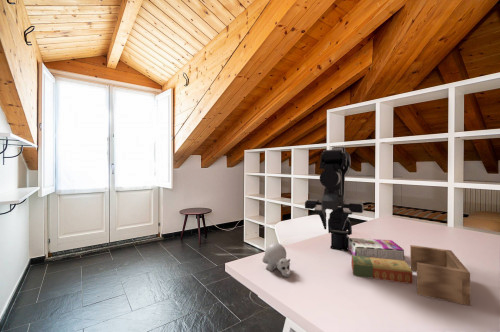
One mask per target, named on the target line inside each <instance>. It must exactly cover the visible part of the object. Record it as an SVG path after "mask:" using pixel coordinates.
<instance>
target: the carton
mask: <svg viewBox="0 0 500 332" xmlns="http://www.w3.org/2000/svg"><path fill="white" fill-rule="evenodd" d="M351 269H352V274H353V275H352V276H356V277H362V278H369V279H376V280H382V281H383V280H384V281H391V282H396V283H404V284H409V285H410V284H411V285H413V283H414V279H413V278H414V277H413V275H414V274H413V271H412V270H411V266H409V264H408V263H407V262H406V260H404V261H402V260H393V259H383V258H374V257H365V256H356V255H353V254H352V255H351Z"/></svg>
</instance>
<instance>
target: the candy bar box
mask: <svg viewBox="0 0 500 332" xmlns="http://www.w3.org/2000/svg"><path fill="white" fill-rule="evenodd" d="M348 249H349V251H350V253H351V254H352V255H356V256H365V257H374V258H383V259H393V260H402V261H405V249H404V248H403V247H401V246H400V245H399V244H397V243H396V242H394V240H393V239H376V238H374V239H373V238H357V237H355V238H353V237H349V248H348Z"/></svg>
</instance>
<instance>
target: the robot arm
mask: <svg viewBox="0 0 500 332" xmlns="http://www.w3.org/2000/svg"><path fill="white" fill-rule="evenodd" d="M319 162H320V163H319V169H320V170H323V171H321V173H320V175H319V182H320V184H321V185H322V186H324V191H323V195H322V197H321V201H320V199H316V198H315V199H314V198H312V199H311V198H309V199H307V200H305V202H304V209H308V210H309V209H310V210H313V211H314V213H315V212H316V213H317V214H318V215H319V218H320V220H321V223H322V226H323V229H324V230H328V231H327V232H328V234H330V247H329V248H330V249H334V250H341V251H348V249H349V238H350V235H352V234H353V229H352V227H353V225H352V223H351V221H350V219H349V215H351V216H352V215H353V213H354V214H355V213H356V214H363V212H364V204H363V202H362V201H350V202H349V203H345V199H346V198H345V196H346V194H345V193H346V187H345V186H346V176H347V175H348V173H349V172H350V168H351V162H352V161H351V155H350V153H349V152H347V150H346V147H345V146H333V147H331V149H324V150H323V152H322V153H321V154H320V161H319ZM327 210H331V212H330V213H329V218H327V214H326V213H327V212H326V211H327ZM327 228H328V229H327Z"/></svg>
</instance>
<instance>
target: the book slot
mask: <svg viewBox="0 0 500 332" xmlns="http://www.w3.org/2000/svg"><path fill="white" fill-rule="evenodd" d="M409 246H410V248H409V249H410V250H409V253H410V269H411V270H412V272H416V293H417V295H418V296H423V297H428V298H433V299H438V300H442V301H447V302H451V303H456V304H461V305H465V306H469V307H471V271H469V270H468V268H466V266H465V265H464V264H463V263H462V261H460V259H459V258H458V257H457V255H455V253H454V252H453V251H452V250H450V249H444V248H436V247H428V246H420V245H414V244H413V245H412V244H410V245H409Z"/></svg>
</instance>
